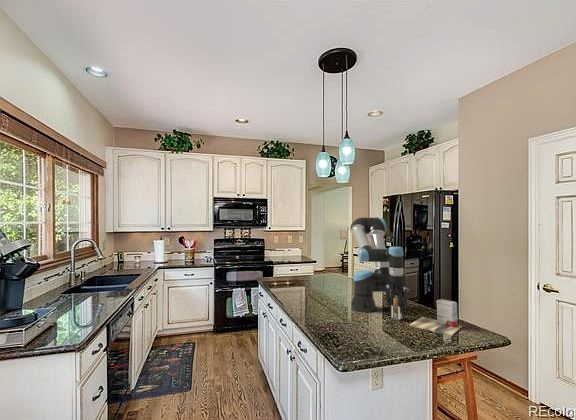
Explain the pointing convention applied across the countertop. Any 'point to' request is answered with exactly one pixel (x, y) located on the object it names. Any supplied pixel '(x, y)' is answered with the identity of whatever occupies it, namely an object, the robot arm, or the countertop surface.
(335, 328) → the countertop surface
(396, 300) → the awl dowel
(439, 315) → the ink box
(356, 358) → the countertop surface
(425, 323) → the subfloor board
